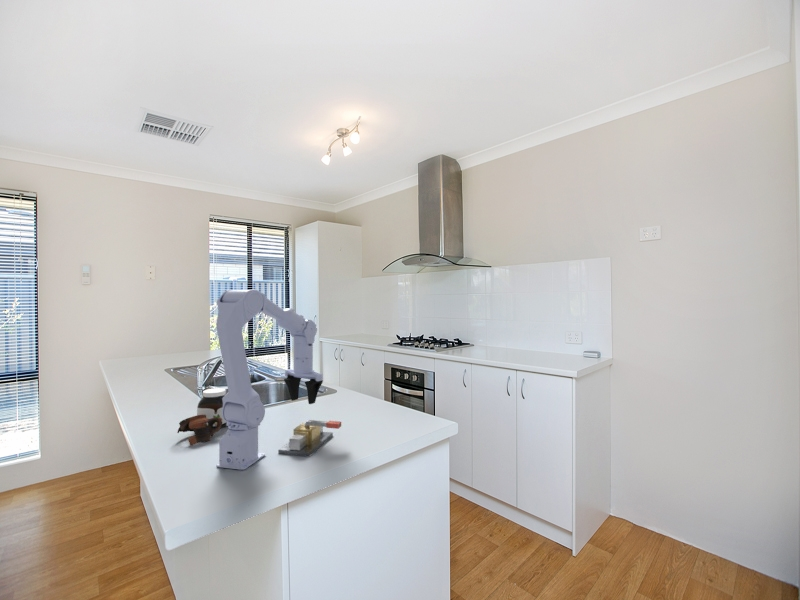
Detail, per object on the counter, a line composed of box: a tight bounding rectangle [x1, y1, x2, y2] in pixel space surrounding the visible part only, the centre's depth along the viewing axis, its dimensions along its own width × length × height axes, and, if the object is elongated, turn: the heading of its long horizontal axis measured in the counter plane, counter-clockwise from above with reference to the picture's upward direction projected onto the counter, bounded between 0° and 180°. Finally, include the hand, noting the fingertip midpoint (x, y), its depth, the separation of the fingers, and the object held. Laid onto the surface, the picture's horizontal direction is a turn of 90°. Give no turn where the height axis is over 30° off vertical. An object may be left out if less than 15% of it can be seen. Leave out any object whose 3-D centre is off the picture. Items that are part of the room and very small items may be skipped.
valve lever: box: [305, 419, 342, 429], centre depth 111 cm, size 11×2×2 cm, turn 77°
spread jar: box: [196, 387, 227, 429], centre depth 130 cm, size 12×11×12 cm
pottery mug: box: [177, 414, 222, 446], centre depth 117 cm, size 12×10×8 cm
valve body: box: [277, 422, 334, 457], centre depth 112 cm, size 16×9×5 cm, turn 167°
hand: (303, 401), depth 121 cm, fingers open, 7 cm apart
